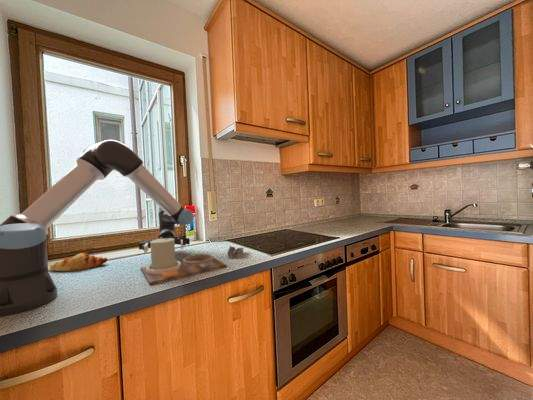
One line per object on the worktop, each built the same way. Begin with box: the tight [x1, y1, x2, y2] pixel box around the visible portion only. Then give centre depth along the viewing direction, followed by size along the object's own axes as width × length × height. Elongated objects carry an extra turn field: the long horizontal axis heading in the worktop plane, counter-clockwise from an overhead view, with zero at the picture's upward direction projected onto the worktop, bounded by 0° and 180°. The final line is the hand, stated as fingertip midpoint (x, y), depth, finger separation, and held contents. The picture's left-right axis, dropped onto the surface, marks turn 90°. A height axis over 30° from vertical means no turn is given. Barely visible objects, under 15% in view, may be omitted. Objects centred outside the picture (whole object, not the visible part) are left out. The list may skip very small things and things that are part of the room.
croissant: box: [49, 252, 108, 272], centre depth 102 cm, size 21×10×8 cm, turn 110°
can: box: [150, 238, 176, 270], centre depth 94 cm, size 9×9×12 cm
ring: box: [146, 259, 181, 278], centre depth 92 cm, size 13×18×2 cm
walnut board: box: [140, 253, 227, 286], centre depth 97 cm, size 29×21×2 cm
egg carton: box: [226, 245, 245, 259], centre depth 114 cm, size 11×8×4 cm
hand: (164, 247), depth 94 cm, fingers open, 13 cm apart
